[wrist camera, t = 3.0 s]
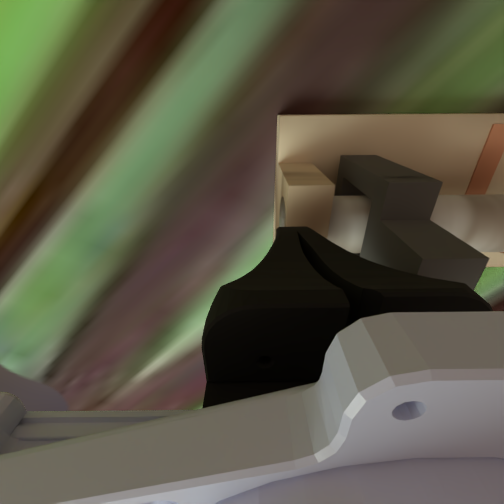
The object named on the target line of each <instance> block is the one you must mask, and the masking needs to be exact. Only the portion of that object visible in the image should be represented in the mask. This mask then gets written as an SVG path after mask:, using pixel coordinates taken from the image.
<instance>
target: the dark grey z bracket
mask: <svg viewBox="0 0 504 504" xmlns="http://www.w3.org/2000/svg"><path fill="white" fill-rule="evenodd" d="M442 184H443V182H442V181H439V180H437V179H434V178H432V177H430V176H427V175H425V174H422V173H420V172H417V171H415V170H412V169H410V168H407V167H405V166H402V165H400V164H397V163H395V162H392V161H390V160H387V159H385V158H382V157H380V156H377V155H341V156H340V163H339V169H338V176H337V183H336V189H335V196H365V195H367V196H368V197H369V198H370V199H372V204H371V208H370V212H369V217H368V221H367V226H366V230H365V235H364V239H363V244H362V248H361V252H360V253H353V254H355V255H358V256H360V257H362V258H365V259H367V260H369V261H372V262H375V263H377V264H380V265H384V266H387V267H390V268H393V269H396V270H400V271H404V272H408V273H412V274H416V275H421V276H425V277H430V278H436V279H442V280H448V281H454V282H460V283H465V284H467V285H468V286H469V287H470V288H471V289H472V290H474V288H475V286H476V284H477V283H478V281H479V279H480V277H481V275H482V273H483V271H484V269H485V267H486V265H487V263H488V261H489V259H490V258H489V257H487V256H485V255H484V254H482V253H481V252H479V251H478V250H476V249H475V248H473V247H471V246H470V245H468V244H467V243H465V242H464V241H462V240H461V239H459V238H457V237H456V236H454V235H453V234H451V233H450V232H448V231H447V230H445V229H444V228H442V227H440V226H439V225H437V224H436V223H434V222H433V221H431V220H430V218H431V215H432V212H433V210H434V207H435V204H436V201H437V198H438V195H439V192H440V190H441V187H442Z"/></svg>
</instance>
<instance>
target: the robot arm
mask: <svg viewBox="0 0 504 504" xmlns="http://www.w3.org/2000/svg"><path fill="white" fill-rule="evenodd" d="M202 353H203V360H204V366H205V373H206V379H207V384H206V390H205V396H204V402H203V408H202V409H198V410H142V411H41V412H26V409H25V407H24V405H23V403H22V402H21V400H20V399H19V398H18V397H16V396H15V395H13V394H10V393H7V392H0V504H504V311H493V310H492V308H491V306H490V304H488V303H487V302H486V301H485V300H484V299H483V298H482V297H480V296H479V295H478V294H477V293H476V292H475V291H474V290H472V289H471V288H470V287H469V286H468V285H467V284H465V283H460V282H454V281H448V280H442V279H436V278H430V277H425V276H421V275H416V274H412V273H408V272H404V271H400V270H396V269H393V268H390V267H387V266H384V265H380V264H377V263H375V262H372V261H369V260H367V259H365V258H362V257H360V256H358V255H355V254H353V253H351V252H349V251H347V250H345V249H343V248H342V247H340V246H338V245H336V244H335V243H333V242H331V241H330V240H328V239H326V238H325V237H323V236H322V235H320V234H319V233H317V232H316V231H314V230H312V229H311V228H309V227H307V226H298V227H278V228H277V229H276V238H275V240H274V243H273V245H272V247H271V248H270V250H269V252H268V253H267V255H266V256H265V257H264V259H263V260H262V261H261V262H260V263H259V264H258V265H257V266H256V267H255V268H254V269H253V270H252V271H250V272H249V273H247V274H246V275H244V276H243V277H241V278H239V279H237V280H235V281H232V282H230V283H228V284H226V285H223V286H221V287H220V289H219V291H218V293H217V295H216V297H215V299H214V301H213V303H212V305H211V308H210V310H209V313H208V315H207V318H206V322H205V326H204V331H203V336H202Z"/></svg>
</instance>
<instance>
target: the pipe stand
mask: <svg viewBox="0 0 504 504" xmlns="http://www.w3.org/2000/svg"><path fill="white" fill-rule="evenodd" d="M341 155H377V156H380V157H382V158H385V159H387V160H390V161H392V162H395V163H397V164H400V165H402V166H405V167H407V168H410V169H412V170H415V171H417V172H420V173H422V174H425V175H427V176H430V177H432V178H434V179H437V180H439V181H442V182H443V184H442V187H441V190H440V192H439V195H438V198H437V201H436V204H435V207H434V210H433V212H432V215H431V218H430V220H431V221H433V222H434V223H436V224H437V225H439V226H440V227H442V228H444V229H445V230H447V231H448V232H450V233H451V234H453V235H454V236H456V237H457V238H459V239H461V240H462V241H464V242H465V243H467V244H468V245H470V246H471V247H473V248H475V249H476V250H478V251H479V252H481V253H482V254H484V255H485V256H487V257H489V258H490V259H489V261H488V263H487V265H486V267H504V113H435V114H313V115H278V116H277V144H276V172H275V199H274V227H273V243H274V240H275V238H276V229H277V228H278V227H298V226H307V227H309V228H311V229H312V230H314V231H316V232H317V233H319V234H320V235H322V236H323V237H325V238H326V239H328V240H330V241H331V242H333V243H335V244H336V245H338V246H340V247H342V248H343V249H345V250H347V251H349V252H351V253H360V252H361V248H362V244H363V239H364V235H365V230H366V226H367V221H368V217H369V212H370V208H371V204H372V199H370V198H369V197H368V196H367V195H365V196H335V189H336V183H337V176H338V169H339V163H340V156H341Z"/></svg>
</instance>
